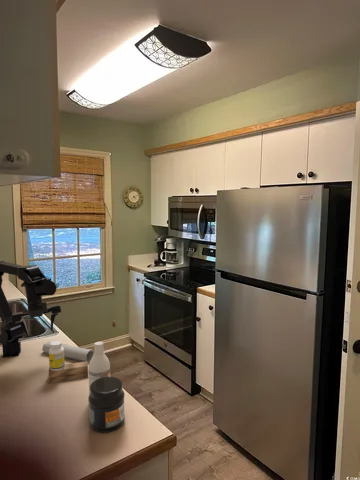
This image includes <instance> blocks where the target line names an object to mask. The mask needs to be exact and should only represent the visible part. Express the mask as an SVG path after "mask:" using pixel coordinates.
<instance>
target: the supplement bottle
mask: <svg viewBox="0 0 360 480" xmlns="http://www.w3.org/2000/svg"><path fill="white" fill-rule="evenodd" d="M50 342H51V344H50V347H51V348H50V350H49V354H48V362H49V365H48V366H49V367H50V370H52V371H58V370H61V369H63V368H64V367H65V364H66V362H65V361H66V360H65V358H64V348H63V347H62V344H63V343H62V341H61V340H54V341H50Z"/></svg>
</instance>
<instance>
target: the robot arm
mask: <svg viewBox="0 0 360 480" xmlns="http://www.w3.org/2000/svg"><path fill="white" fill-rule="evenodd" d="M5 274H9V275H13V276H15V277H17V279H18V280H21V281H23V282H22V283H21V285H20V287H22V288H23V287H24V290H25V296H26V297H25V298H26V302H27V312H24V313H23V311H19V312H13V311H12V309H11V306H10V304H9V301H8V299H7V297H6V295H5V292H4V290H3V288H2V285H3V276H4V275H5ZM56 292H57V285H56V283H55V282H54V281H53V280H52V278H51V277H50V278H47V276H46V275H45V274H44V273H43V271H42V270H41V268H40V267H39V266H38V265H36V264H34V265H33V264H31V265H30V264H27V265H20V264H16V263H11V262H7V261H5V260H0V320H1V324H0V332H1V333H0V344H1V347H2V356H1V358H2V359H5V358H12V357H18V356H19V355H20V353H21V352H22V343H21V341H20V339H23V337H24V333H25V335H26V337H29V331H28V328H27V324H26V321H25V319H26V318H30V319H34V318H41V317H42V316H43V315H44V314H49V313H50V331H51V332H53V328H54V322H55V319H56V316H59V313H62V308H61V305H60V304H58V303H57V304H52V305H49V307H48V304H47V302H43V297H45V296H46V297H47V296H48V297H50V296H53V295H55V294H56Z"/></svg>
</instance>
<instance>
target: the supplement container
mask: <svg viewBox="0 0 360 480" xmlns="http://www.w3.org/2000/svg"><path fill="white" fill-rule="evenodd" d="M123 385H124V384H123V381H122V379H120V378H119V377H116V376H115V377H114V376H110V377H103V378H99V379H97V380H95V381H94V382H93V383H92V384H91V385H90V395H88V399H87V400H88V417H89V419H88V423H89V427H90V428H91V429H92V430H93V431H96V432H99V433H108V432H109V433H110V432H112V431H115V430H117V429H118V428H120V427H121V426H122V425H123V423H124V421H125V419H126V418H125V392H124V388H123Z"/></svg>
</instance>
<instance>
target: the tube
mask: <svg viewBox="0 0 360 480" xmlns="http://www.w3.org/2000/svg"><path fill="white" fill-rule="evenodd" d="M51 342H52V341H48V342H46V343H43V346H42V351H43V352H44V353H45V354H47V355H49V350H50V348H51V347H50V344H51ZM62 347H63V348H64V359H69V360H74V361H79V362H86V361H87V363H88V364H89V363H90V361H91V359H92V357H93V356H94V354H95V352H94V349H92V348H91V349H89V348H83V347H79V346H74V345H73V346H72V345H68V344H63V343H62Z"/></svg>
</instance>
